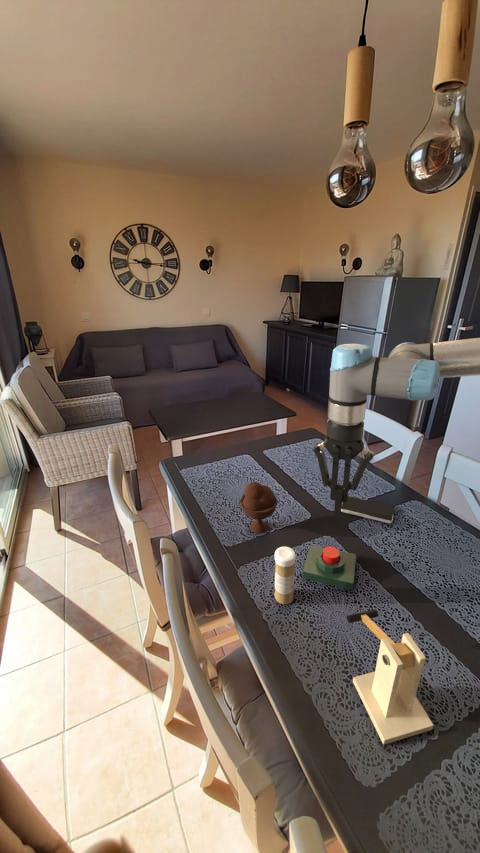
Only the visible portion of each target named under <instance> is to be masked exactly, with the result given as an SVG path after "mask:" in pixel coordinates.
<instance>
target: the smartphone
mask: <svg viewBox="0 0 480 853" xmlns="http://www.w3.org/2000/svg"><path fill="white" fill-rule="evenodd" d="M394 511H395V506H394V505H391V504H390V505H389V504H385V503H381V502H375V501H371V500H367V499H363V498H358V497H354V496H349V495H348V498H347V501H346V502H342V508H341V513H344V514H345V513H346V514H349V515H353V516H357V517H362V518H364V519H365V518H366V519H369V520H374V521H378V522H383V523H387V524H393V522H394V521H393V520H394V513H395V512H394Z"/></svg>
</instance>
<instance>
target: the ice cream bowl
mask: <svg viewBox="0 0 480 853" xmlns="http://www.w3.org/2000/svg"><path fill="white" fill-rule="evenodd" d="M278 503H279V499H277V497H276V494H275V493H274V491H273V489H272V488H271V487H269V486H267V485H265V484H262V483H260V482H258V481H250V482H249V483H247V484H246V485H245V488H244V493H243V494H242V496H241V498H240V499H239V505H240V507H241V510H242V511H243V513H244V515H246V516H247V517H248V518H251V519H253V520H254V521H252V522H250V525H249V529H250V531H251V532H253V533H255V534H264V533H265V532H267V531H268V529H269V525H268V524H267V522H266V521H264V520H265V519H267V518H269V517H271V516H273V515H274V513H275V511H276V508H277V507H278Z"/></svg>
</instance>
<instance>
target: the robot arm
mask: <svg viewBox="0 0 480 853" xmlns="http://www.w3.org/2000/svg"><path fill="white" fill-rule="evenodd" d="M388 354H389V355H388V357H380V356H373V355H374V354H373V348H372V347H371V346H370V345H368V344H360V343H344V344H339V345H337V346H336V347H334V349H333V350H332V355H331V362H330V368H329V391H328V404H327V418H328V419H327V421H326V433H325V437H324V439H323V441H322V442H320V443H319V442H317V443H315V444H314V446H313V450H312V451H313V453H314V454H315V456H316V458H317V461H318V467H319V472H320V476H321V481H322V484H323V486H324V487H328V488H330V494H329V498H330V500H331V501H334V506H333V507H334V509H333V515H338V516H341V514H342V511H341V508H342V504H343V502H346V501H347V498H348V496H349V491H351V490H352V491H356V490H358V487H359V484H360V482H361V481H362V480H361V479H362V477H363V475H364V473H365V470H366V468H367V465H368V464H369V463H370V462H371V461H372V460H373V459H374V450H373V449H369V448H367V447H366V446H365V443H364V440H363V439H364V430H365V428H364V427H365V422H364V420H365V419H366V418H365V417H366V410H367V402H368V396H373V397H383V398H392V399H400V400H409V401H431V400H433V399H434V398H435V396H436V394H437V389H438V385H439V380H440V379H445V378H461V377H476V376H477V377H478V376H480V337H475V338H464V339H456V340H455V339H454V340H447V341H446V340H445V341H437V342H430V343H429V342H428V343H419V344H417V343H415V342H409V341H408V342H402V343H399V344H398V345H396V346H395V347H394V348H393V349H391V351H390V352H389V353H388ZM326 451H327V452H328V453H329V455H330V456H331V457H332V466H331V467H332V468H331V477H330V473H329V469H328V463H327V458H326V454H325V452H326ZM360 453H361V455H360V457H361V459H360V461H359V463H358V466H357V468H356V470H355V473H354V475H353V478H352V480H351V481H350V476H351V467H352V460H354V459H355V458H356V457H357V456H358V455H359V454H360ZM340 460H342V461H344V468H343V469H344V470H343V480H342V484H338V482H339V481H338V480H339V478H338V477H339V467H340Z"/></svg>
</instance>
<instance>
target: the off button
mask: <svg viewBox="0 0 480 853" xmlns="http://www.w3.org/2000/svg"><path fill="white" fill-rule="evenodd" d="M338 550H339V549H338V548H336V547H334V546H326V547H324V550H323V560H324V561H325V562H326V563H328V564H336V563H338V561H339V555H340V553H339V551H340V550H339V551H338Z"/></svg>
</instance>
